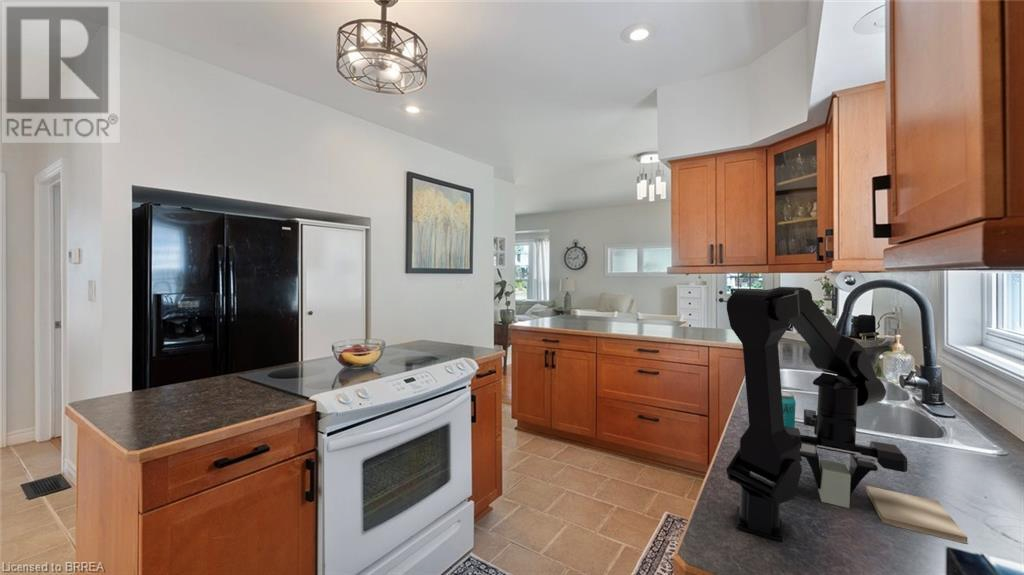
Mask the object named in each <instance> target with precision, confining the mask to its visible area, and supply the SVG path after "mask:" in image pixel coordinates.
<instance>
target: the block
mask: <svg viewBox="0 0 1024 575" xmlns="http://www.w3.org/2000/svg"><path fill="white" fill-rule="evenodd" d="M819 465H820V476H821V488H820V489H818V488H817V491H818V494H819V498H820V502H822V503H825V504H830V505H834V506H838V507H842V508H847V509H850V502H851V501H850V500H851V495H850V481H851V475H850V473H849V468H848V466H847V464H845V463H840V462H835V461H830V460H825V459H820V458H819Z"/></svg>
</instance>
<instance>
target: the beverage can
mask: <svg viewBox="0 0 1024 575" xmlns="http://www.w3.org/2000/svg"><path fill="white" fill-rule="evenodd" d="M781 392H782V406H783V419H784V426H786V427H792V428H796V425H795V424H796V398H795V393H792V392H789V391H787V390H782V389H781Z"/></svg>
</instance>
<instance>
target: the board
mask: <svg viewBox="0 0 1024 575" xmlns="http://www.w3.org/2000/svg"><path fill="white" fill-rule="evenodd" d="M865 491H866V494H867V495H868V497H869V499H870V501H871V503H872V504H873V507H874V509H875V511H876V512H877V514H878V517H879V519H880V520H881V522H882V524H886V525H889V526H893V527H897V528H900V529H901V528H903V529H906V530H910V531H914V532H917V533H922V534H926V535H929V536H934V537H938V538H942V539H946V540H950V541H955V542H958V543H962V544H968V541H969V540H968V536H967V535H966V534H965V533H964V531H963V530H962V528H960V526H959V524H957V522H955V520H954V519H953V518H952V516H951V515H950V514H949V513H948V511H947V510H946V509H945V508H944V506H943V505H942V504H941V503H940V502H939V500H934V499H930V498H925V497H921V496H916V495H911V494H908V493H907V494H906V493H903V492H902V493H901V492H898V491H895V490H894V491H893V490H888V489H884V488H883V489H882V488H879V487H874V486H869V485H866V487H865Z"/></svg>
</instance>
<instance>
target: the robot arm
mask: <svg viewBox="0 0 1024 575" xmlns="http://www.w3.org/2000/svg"><path fill="white" fill-rule="evenodd" d="M726 300H727V301H726V312H727V317H728V322H729V326H730V328H731V330H732V332H733V333H734V334H735V335H736V336H737V338H738V340H739V341H740V342H741V345H742V355H743V366H744V368H743V369H744V378H745V392H746V402H747V403H746V404H747V405H746V406H747V415H748V416H747V417H748V427H747V429H746V430H745V431H744V432H743V434H742V436H740V438H739V448H738V450H737V452H736V453H735V455H734V456H733V458H732V459H731V461H730V463H729V464H728V466H727V467H726V475H727V479H728V480H729V481H731V482H732V481H733V482H734V483H736V484H737V485H740V486H739V487H740V488H739V490H740V491H739V506H738V507H737V509H736V519H735V520H736V521H735V527H736V528H737V530H738V529H739V530H741V531H745V532H748V533H751V534H755V535H759V536H761V537H765V538H768V539H769V538H770V539H771V540H776V541H779V542H783V541H784V532H783V531H784V530H783V523H782V522H783V521H782V518H781V504H783V503H786V502H789V501H791V500H794V499H796V495H797V491H798V488H799V483H800V479H801V476H802V465H801V462H802V461H803V458H805V459H806V460H807V462H808V464H809V467H810V470H811V471H812V475H813V477H814V480H815V483H816V488H817V490H818V489H820V488H821V476H820V465H819V459H820V457H819V454H818V449H821V450H827V451H831V452H836V453H843V454H847V455H848V454H849V456H850V457H849V459H850V460H849V468H848V471H849V473H850V475H851V481H850V496H851V495H852V494H853V493H854V491H855V489H856V488H857V486H858V485H859V484H860V482H861V481H862V480H863V479H864V478H865V477H866V476H867V475H868V474H869V473H870V472H871V471H873V472H878V471H879V468H878V466H877V464H876V462H877V463H878V464H879V465H880V466H881V468H883V469H886V470H890V471H891V470H892V471H897V472H901V473H907V472H908V458H907V456H906V455H905V453H904V452H903V451H902V450H901V449H900V448H899V447H898V445H897V444H896V445H895V444H890V443H886V442H879V441H874V440H870V442H869V445H862V444H857V443H856V441H857V439H856V438H857V437H856V436H857V417H858V415H857V414H858V408H859V407H862V406H863V407H864V406H868V405H872V404H877V403H880V402H881V401H883V400H884V398H885V397H886V394H887V389H886V387H885V384H884V383H883V382H882V381H881V379H880V378H878V377H877V374H876V371H875V370H874V367H873V364H872V362H871V359H870V357H869V354H868V353H867V351H866V349H865V348H864V346H862V345H861V344H860V343H859V342H858V341H856V340H855V339H853V338H851V337H848V336H846V335H843V334H842V333H840V332H839V331H838V330H837V328H835V326H834V325H833V324H832V322H831V321H830V319H828V317H827V316H826V315H825V314H824V312H823V311H822V310H821V309H820V307H819V306H818V305H817V304H816V302H815V301H814V299H813V294H812V292H811V291H810V290H809V289H808V288H804V287H800V286H778V287H774V288H769V289H763V288H762V289H760V288H759V289H758V288H755V289H754V288H738V289H737V288H736V289H735V290H734V291H733V292H732V293H731V295H730V296H729V297H728V298H727V299H726ZM790 324H791V326H792V327H793V328H794V329H795V331H796V332H797V333H798V334H799V335H800V336H801V338H802V339H803V340H804V341H805V342H806V344H807V345H808V346H809V351H808V353H807V355H808V356H809V358H810V360H811V362H812V364H813V365H814V366H815V368H816V369H818V370H821V371H822V372H821V373H820V375H819V376H818V377H816V378H814V380H813V381H812V384H813V385H814V386H817V387H818V388H817V389H818V390H817V392H818V393H817V408H816V409H817V410H813V409H806V408H805V409H803V426H805V427H811V428H812V427H813V428H814V429H813V434H814V435H815V436H810V435H805V434H801V432H800V429H799V428H798V427H797V428H796V427H795V428H792V427H786V426H784V419H783V406H782V392H781V390H782V382H781V381H782V380H781V379H782V378H781V367H780V357H779V356H780V354H779V353H780V352H779V342H780V340H781V339H782V338H783V336H784V334H785V333H786V331H787V330H788V328H789V326H790ZM816 411H817V412H816ZM757 475H758V476H757ZM759 476H760V477H759ZM763 478H764V479H763ZM765 479H766V480H765ZM769 481H770V482H769Z"/></svg>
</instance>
